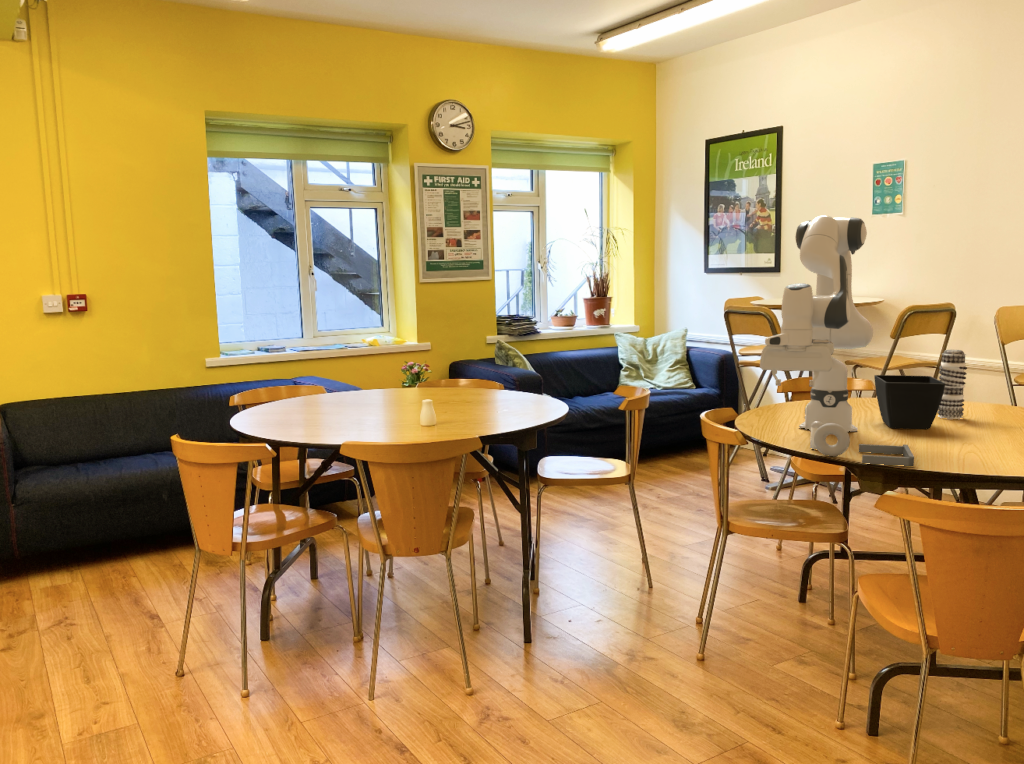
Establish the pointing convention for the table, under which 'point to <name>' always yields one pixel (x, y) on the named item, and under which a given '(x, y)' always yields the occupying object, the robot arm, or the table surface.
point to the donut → (835, 430)
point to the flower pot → (908, 400)
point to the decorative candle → (952, 384)
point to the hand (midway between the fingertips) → (794, 386)
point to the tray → (887, 449)
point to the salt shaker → (814, 428)
